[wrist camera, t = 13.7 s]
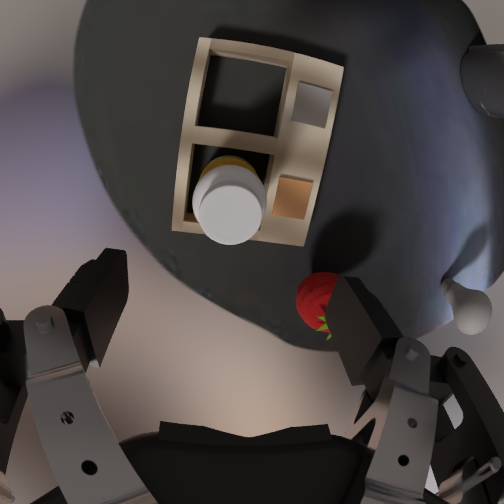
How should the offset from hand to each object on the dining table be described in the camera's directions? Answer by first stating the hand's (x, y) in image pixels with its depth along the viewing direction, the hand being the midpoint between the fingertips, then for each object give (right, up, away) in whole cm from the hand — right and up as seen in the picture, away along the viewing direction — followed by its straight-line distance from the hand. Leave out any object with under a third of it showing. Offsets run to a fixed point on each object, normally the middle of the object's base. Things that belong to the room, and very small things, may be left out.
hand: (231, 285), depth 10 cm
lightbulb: (+30, -3, +25) cm, 39 cm away
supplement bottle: (-1, +8, +16) cm, 18 cm away
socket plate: (+1, +11, +14) cm, 18 cm away
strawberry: (+8, -1, +21) cm, 23 cm away
